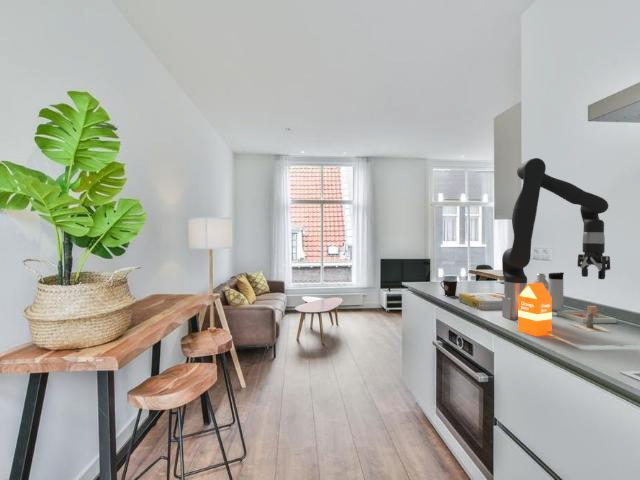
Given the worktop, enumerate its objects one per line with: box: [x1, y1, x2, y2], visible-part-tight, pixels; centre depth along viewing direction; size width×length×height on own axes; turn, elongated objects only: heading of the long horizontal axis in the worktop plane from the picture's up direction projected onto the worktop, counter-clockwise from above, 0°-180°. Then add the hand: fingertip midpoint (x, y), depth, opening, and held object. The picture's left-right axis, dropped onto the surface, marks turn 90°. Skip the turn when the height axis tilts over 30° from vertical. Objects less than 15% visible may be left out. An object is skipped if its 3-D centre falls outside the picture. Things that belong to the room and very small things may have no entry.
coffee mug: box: [440, 279, 458, 297], centre depth 204 cm, size 12×9×10 cm
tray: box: [556, 310, 617, 324], centre depth 140 cm, size 15×15×3 cm
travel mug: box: [547, 272, 565, 313], centre depth 160 cm, size 6×7×20 cm
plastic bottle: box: [533, 273, 549, 291], centre depth 154 cm, size 6×7×20 cm
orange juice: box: [517, 282, 553, 337], centre depth 125 cm, size 8×9×20 cm
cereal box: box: [458, 292, 504, 310], centre depth 175 cm, size 20×6×28 cm
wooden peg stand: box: [568, 312, 612, 332], centre depth 127 cm, size 10×10×7 cm
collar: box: [570, 305, 599, 318], centre depth 140 cm, size 10×7×6 cm
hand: (592, 277), depth 140 cm, fingers open, 8 cm apart
